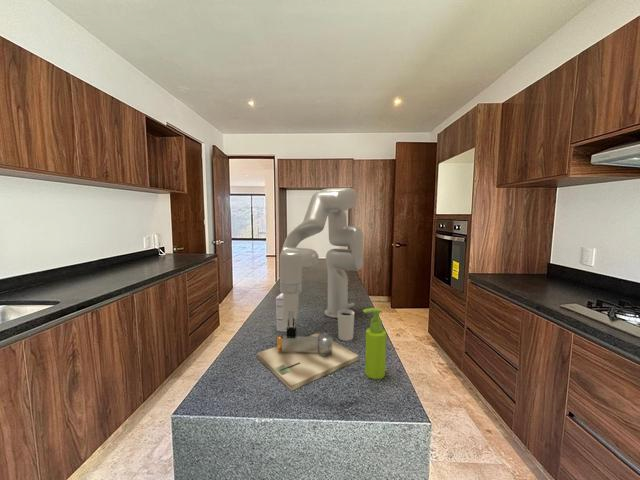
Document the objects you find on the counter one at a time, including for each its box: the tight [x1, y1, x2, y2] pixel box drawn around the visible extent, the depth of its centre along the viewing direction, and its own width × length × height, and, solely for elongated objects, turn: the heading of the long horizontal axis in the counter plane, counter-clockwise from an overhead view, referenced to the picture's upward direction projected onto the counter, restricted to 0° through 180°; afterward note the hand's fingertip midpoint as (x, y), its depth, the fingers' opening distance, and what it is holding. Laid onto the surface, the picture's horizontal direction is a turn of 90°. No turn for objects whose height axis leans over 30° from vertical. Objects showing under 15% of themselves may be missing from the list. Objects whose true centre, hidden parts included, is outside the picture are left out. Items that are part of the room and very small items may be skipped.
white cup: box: [337, 309, 355, 342], centre depth 106 cm, size 7×7×10 cm
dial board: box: [256, 332, 360, 392], centre depth 90 cm, size 26×22×2 cm
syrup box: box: [275, 293, 287, 333], centre depth 113 cm, size 6×6×14 cm
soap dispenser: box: [362, 307, 387, 380], centre depth 81 cm, size 6×7×20 cm
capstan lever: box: [276, 332, 333, 356], centre depth 91 cm, size 18×8×5 cm, turn 87°
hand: (291, 338), depth 95 cm, fingers closed
